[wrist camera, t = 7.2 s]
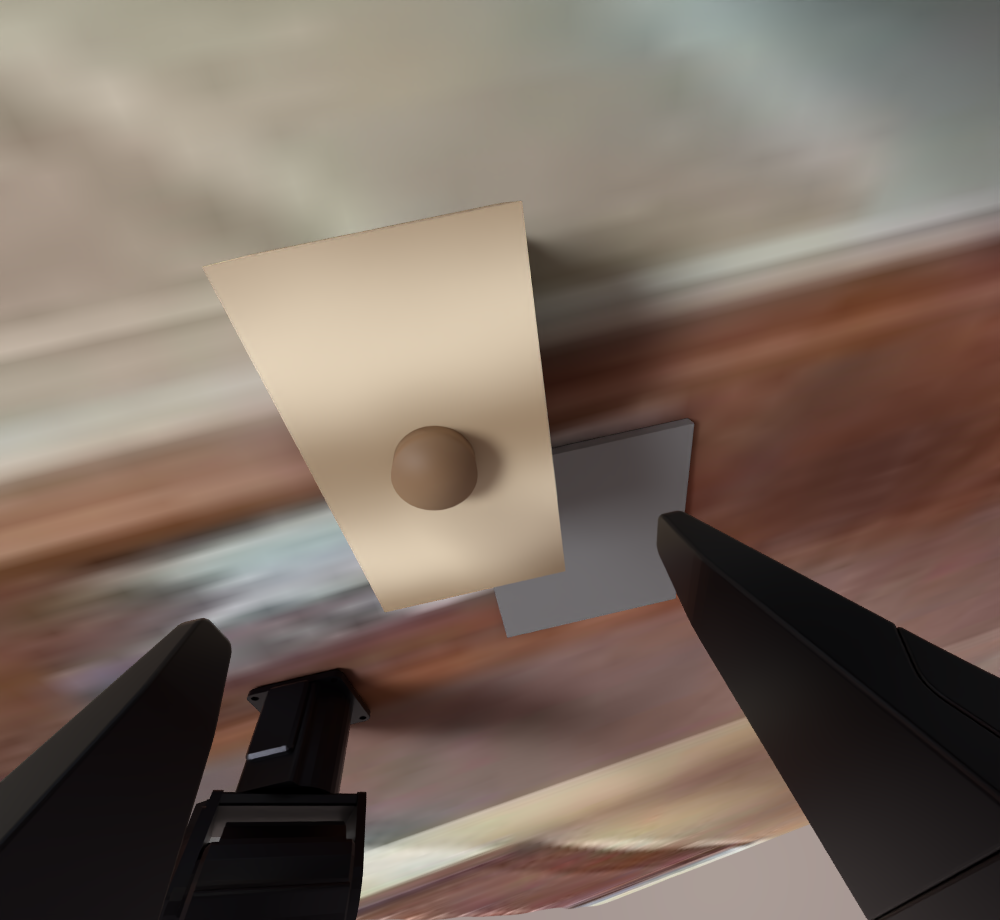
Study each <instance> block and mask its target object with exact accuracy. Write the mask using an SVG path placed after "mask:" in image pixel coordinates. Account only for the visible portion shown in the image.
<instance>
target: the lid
mask: <svg viewBox="0 0 1000 920" xmlns="http://www.w3.org/2000/svg"><path fill="white" fill-rule="evenodd" d="M202 268H203V270H204V271H205V273H206V275H207V277H208V279H209V281H210V283H211V285H212V287H213V288H214V290H215V292H216V294H217V296H218V298H219V300H220V302H221V304H222V305H223V307H224V309H225V311H226V313H227V315H228V317H229V319H230V321H231V322H232V324H233V326H234V328H235V330H236V332H237V334H238V336H239V338H240V339H241V341H242V343H243V345H244V347H245V349H246V351H247V353H248V355H249V356H250V358H251V360H252V362H253V364H254V366H255V368H256V370H257V372H258V373H259V375H260V377H261V379H262V381H263V383H264V385H265V387H266V389H267V390H268V392H269V394H270V396H271V398H272V400H273V402H274V404H275V406H276V407H277V409H278V411H279V413H280V415H281V417H282V419H283V421H284V423H285V424H286V426H287V428H288V430H289V432H290V434H291V436H292V438H293V440H294V441H295V443H296V445H297V447H298V449H299V451H300V453H301V455H302V457H303V458H304V460H305V462H306V464H307V466H308V468H309V470H310V472H311V474H312V475H313V477H314V479H315V481H316V483H317V485H318V487H319V489H320V491H321V492H322V494H323V496H324V498H325V500H326V502H327V504H328V506H329V508H330V509H331V511H332V513H333V515H334V517H335V519H336V521H337V523H338V525H339V526H340V528H341V530H342V532H343V534H344V536H345V538H346V540H347V542H348V543H349V545H350V547H351V549H352V551H353V553H354V555H355V557H356V559H357V560H358V562H359V564H360V566H361V568H362V570H363V572H364V574H365V576H366V577H367V579H368V581H369V583H370V585H371V587H372V589H373V591H374V593H375V594H376V596H377V598H378V600H379V602H380V604H381V606H382V608H383V610H384V612H389V611H393V610H397V609H402V608H406V607H410V606H415V605H419V604H424V603H428V602H432V601H437V600H441V599H446V598H450V597H454V596H459V595H463V594H467V593H472V592H476V591H481V590H485V589H489V588H494V587H498V586H503V585H507V584H511V583H516V582H520V581H524V580H529V579H533V578H538V577H542V576H546V575H551V574H555V573H560V572H564V571H566V570H565V562H564V554H563V545H562V537H561V528H560V520H559V511H558V503H557V494H556V486H555V477H554V469H553V460H552V452H551V443H550V435H549V426H548V418H547V409H546V401H545V392H544V384H543V376H542V367H541V359H540V350H539V342H538V333H537V325H536V316H535V308H534V299H533V291H532V282H531V274H530V265H529V257H528V248H527V240H526V231H525V223H524V215H523V206H522V201H516V202H505V203H499V204H494V205H489V206H484V207H479V208H475V209H470V210H465V211H460V212H455V213H450V214H445V215H440V216H436V217H431V218H426V219H421V220H416V221H411V222H406V223H401V224H397V225H392V226H387V227H382V228H377V229H372V230H367V231H363V232H358V233H353V234H348V235H343V236H338V237H333V238H328V239H324V240H319V241H314V242H309V243H304V244H299V245H294V246H290V247H285V248H280V249H275V250H270V251H265V252H260V253H255V254H251V255H247V256H243V257H239V258H235V259H231V260H227V261H223V262H219V263H215V264H211V265H207V266H203V267H202Z"/></svg>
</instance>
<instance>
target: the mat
mask: <svg viewBox="0 0 1000 920" xmlns="http://www.w3.org/2000/svg"><path fill="white" fill-rule="evenodd" d="M693 430H694V423H693V422H692V421H691V420H689V419H688V418H687V419H682V420H678V421H673V422H669V423H664V424H660V425H655V426H651V427H646V428H642V429H637V430H633V431H628V432H624V433H619V434H615V435H610V436H606V437H601V438H597V439H592V440H588V441H583V442H579V443H574V444H570V445H566V446H561V447H557V448H552V456H553V464H554V472H555V481H556V489H557V497H558V499H557V503H558V511H559V520H560V528H561V537H562V545H563V554H564V562H565V570H566V571H564V572H560V573H555V574H551V575H546V576H542V577H538V578H533V579H529V580H524V581H520V582H516V583H511V584H507V585H503V586H498V587H494V591H495V595H496V598H497V602H498V605H499V609H500V613H501V616H502V620H503V623H504V627H505V631H506V634H507V638H508V637H512V636H516V635H521V634H525V633H529V632H534V631H538V630H542V629H547V628H551V627H555V626H559V625H564V624H568V623H572V622H577V621H581V620H585V619H589V618H594V617H598V616H602V615H607V614H611V613H615V612H619V611H624V610H628V609H632V608H637V607H641V606H645V605H649V604H654V603H658V602H662V601H667V600H671V599H675V598H676V591H675V589H674V586H673V584H672V582H671V580H670V578H669V576H668V573H667V571H666V569H665V567H664V565H663V563H662V560H661V558H660V556H659V554H658V550H657V545H656V541H657V525H658V518H659V516H660V515H661V514H664V513H668V512H673V511H683V512H685V504H686V495H687V486H688V476H689V467H690V458H691V448H692V439H693Z"/></svg>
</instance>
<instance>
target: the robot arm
mask: <svg viewBox="0 0 1000 920" xmlns="http://www.w3.org/2000/svg"><path fill="white" fill-rule="evenodd" d="M656 545H657V550H658V554H659V556H660V558H661V560H662V563H663V565H664V567H665V569H666V571H667V573H668V576H669V578H670V580H671V582H672V584H673V586H674V589H675V591H676V593H677V595H678V597H679V599H680V602H681V604H682V606H683V608H684V610H685V612H686V615H687V617H688V619H689V621H690V623H691V625H692V627H693V628H694V630H695V632H696V634H697V635H698V637H699V639H700V641H701V642H702V644H703V646H704V647H705V649H706V651H707V652H708V654H709V656H710V657H711V659H712V661H713V662H714V664H715V666H716V667H717V669H718V671H719V672H720V674H721V676H722V677H723V679H724V681H725V682H726V684H727V686H728V687H729V689H730V691H731V692H732V694H733V696H734V697H735V699H736V701H737V702H738V704H739V706H740V707H741V709H742V711H743V712H744V714H745V716H746V717H747V719H748V721H749V722H750V724H751V726H752V728H753V729H754V731H755V733H756V734H757V736H758V738H759V739H760V741H761V743H762V744H763V746H764V748H765V749H766V751H767V753H768V754H769V756H770V758H771V759H772V761H773V763H774V764H775V766H776V768H777V769H778V771H779V773H780V774H781V776H782V778H783V779H784V781H785V783H786V784H787V786H788V788H789V789H790V791H791V793H792V794H793V796H794V798H795V799H796V801H797V803H798V804H799V806H800V808H801V809H802V811H803V813H804V814H805V816H806V818H807V819H808V821H809V823H810V825H811V826H812V828H813V829H814V831H815V833H816V835H817V836H818V838H819V839H820V841H821V843H822V844H823V846H824V848H825V850H826V851H827V853H828V854H829V856H830V858H831V860H832V861H833V863H834V864H835V866H836V868H837V870H838V871H839V873H840V874H841V876H842V878H843V880H844V881H845V883H846V885H847V886H848V888H849V890H850V891H851V893H852V895H853V896H854V898H855V900H856V901H857V903H858V905H859V906H860V908H861V910H862V911H863V913H864V915H865V916H866V918H867V919H868V920H1000V678H999V677H997V676H995V675H993V674H991V673H989V672H987V671H985V670H983V669H981V668H979V667H977V666H975V665H973V664H971V663H969V662H967V661H965V660H963V659H961V658H959V657H957V656H955V655H953V654H951V653H949V652H947V651H946V650H944V649H942V648H940V647H938V646H936V645H934V644H932V643H930V642H928V641H926V640H924V639H922V638H921V637H919V636H917V635H915V634H913V633H911V632H909V631H907V630H906V629H904V628H901V627H897V628H896V626H895V624H894V623H892V622H890V621H888V620H886V619H884V618H883V617H881V616H879V615H877V614H875V613H873V612H871V611H869V610H868V609H866V608H864V607H862V606H860V605H858V604H856V603H854V602H852V601H851V600H849V599H847V598H845V597H843V596H841V595H839V594H837V593H836V592H834V591H832V590H830V589H828V588H826V587H824V586H822V585H820V584H819V583H817V582H815V581H813V580H811V579H809V578H807V577H805V576H804V575H802V574H800V573H798V572H796V571H794V570H792V569H790V568H788V567H787V566H785V565H783V564H781V563H779V562H777V561H775V560H773V559H772V558H770V557H768V556H766V555H764V554H762V553H760V552H758V551H756V550H755V549H753V548H751V547H749V546H747V545H745V544H743V543H741V542H740V541H738V540H736V539H734V538H732V537H730V536H728V535H726V534H725V533H723V532H721V531H719V530H717V529H715V528H713V527H711V526H709V525H708V524H706V523H704V522H702V521H700V520H698V519H696V518H694V517H693V516H691V515H689V514H687V513H685V512H683V511H673V512H668V513H664V514H661V515H660V516H659V518H658V525H657V541H656ZM230 658H231V644H230V642H229V640H228V639H227V638H226V637H225V636H224V635H223V634H222V632H221V631H220V630H219V629H218V628H217V627H216V626H215V625H214V624H213V623H212V622H211V621H210V620H208V619H205V618H201V619H196V620H192V621H187V622H184V623H181V624H180V625H178V626H177V627H176V628H175V629H174V630H172V631H171V632H170V633H169V634H168V635H167V636H166V637H164V638H163V639H162V640H161V641H160V642H159V643H158V644H156V645H155V646H154V647H153V648H152V649H151V650H150V651H149V652H147V653H146V654H145V655H144V656H143V657H142V658H141V659H139V660H138V661H137V662H136V663H135V664H134V665H133V666H131V667H130V668H129V669H128V670H127V671H126V672H125V673H124V674H122V675H121V676H120V677H119V678H118V679H117V680H116V681H114V682H113V683H112V684H111V685H110V686H109V687H108V688H107V689H105V690H104V691H103V692H102V693H101V694H100V695H99V696H97V697H96V698H95V699H94V700H93V701H92V702H91V703H89V704H88V705H87V706H86V707H85V708H84V709H83V710H82V711H80V712H79V713H78V714H77V715H76V716H75V717H74V718H72V719H71V720H70V721H69V722H68V723H67V724H66V725H64V726H63V727H62V728H61V729H60V730H59V731H58V732H57V733H55V734H54V735H53V736H52V737H51V738H50V739H49V740H47V741H46V742H45V743H44V744H43V745H42V746H41V747H40V748H38V749H37V750H36V751H35V752H34V753H33V754H32V755H30V756H29V757H28V758H27V759H26V760H25V761H24V762H22V763H21V764H20V765H19V766H18V767H17V768H16V769H15V770H13V771H12V772H11V773H10V774H9V775H8V776H7V777H5V778H4V779H3V780H2V781H1V782H0V920H356V917H357V912H358V906H359V901H360V894H361V886H362V877H363V861H364V838H365V816H366V792H357V794H341V793H339V791H340V784H341V778H342V772H343V766H344V760H345V754H346V748H347V742H348V736H349V730H350V724H354V723H358V722H363V721H366V720H368V719H369V718H370V710H369V709H368V707H367V706H366V705H365V703H364V702H363V701H362V699H361V698H360V696H359V695H358V694H357V692H356V691H355V689H354V688H353V687H352V685H351V684H350V683H349V681H348V680H347V678H346V677H345V676H344V674H343V673H342V672H341V671H337V670H334V671H329V672H325V673H321V674H316V675H312V676H308V677H303V678H299V679H295V680H290V681H286V682H282V683H278V684H273V685H269V686H265V687H260V688H256V689H252V690H250V691H249V694H248V697H247V700H248V701H249V702H250V703H251V704H252V705H253V706H254V707H255V708H256V709H257V710H258V711H259V712H260V716H259V719H258V722H257V724H256V727H255V730H254V733H253V736H252V739H251V742H250V745H249V748H248V750H247V753H246V759H247V760H246V762H245V765H244V768H243V771H242V774H241V777H240V780H239V783H238V786H237V789H236V792H223V791H224V790H213V792H212V794H211V797H210V799H207V801H204V802H201V803H198V804H196V806H195V808H194V811H193V813H192V816H191V818H190V815H191V812H192V808H193V805H194V802H195V798H196V795H197V792H198V789H199V785H200V782H201V779H202V775H203V772H204V769H205V766H206V762H207V759H208V756H209V752H210V749H211V745H212V742H213V738H214V734H215V730H216V726H217V721H218V716H219V711H220V707H221V702H222V697H223V692H224V687H225V682H226V677H227V672H228V668H229V663H230ZM189 818H190V821H189ZM188 821H189V823H188ZM187 825H188V826H187ZM211 837H221V838H220V841H219V842H211V843H209V841H210V838H211Z"/></svg>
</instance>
